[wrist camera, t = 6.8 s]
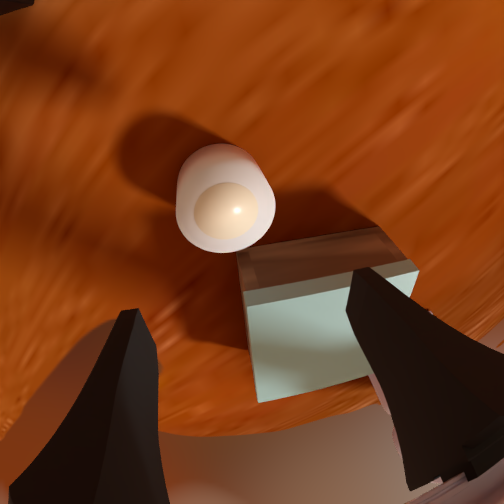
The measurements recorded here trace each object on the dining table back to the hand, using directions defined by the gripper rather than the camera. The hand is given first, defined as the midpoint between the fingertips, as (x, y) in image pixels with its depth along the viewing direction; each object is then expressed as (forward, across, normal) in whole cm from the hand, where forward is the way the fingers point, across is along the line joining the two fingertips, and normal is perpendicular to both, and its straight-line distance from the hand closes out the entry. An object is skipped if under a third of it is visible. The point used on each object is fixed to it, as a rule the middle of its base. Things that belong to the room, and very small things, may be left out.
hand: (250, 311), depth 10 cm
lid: (+6, -6, +11) cm, 14 cm away
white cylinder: (+10, 0, 0) cm, 10 cm away
